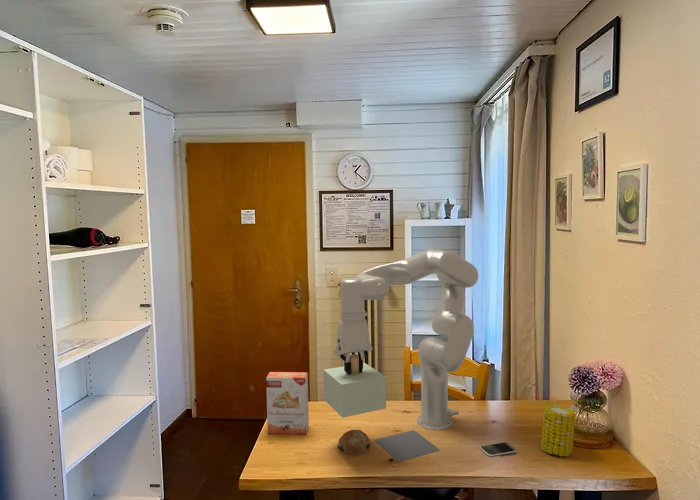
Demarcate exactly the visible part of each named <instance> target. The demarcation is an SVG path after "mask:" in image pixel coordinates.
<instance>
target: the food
mask: <svg viewBox="0 0 700 500" xmlns="http://www.w3.org/2000/svg"><path fill="white" fill-rule="evenodd" d="M541 421H542V423H541V435H540V436H541V437H540V443H541V444H540V447H541V451H543V452H545V453H546V454H547V453H548V454H549V455H556V456H560V457H566V458H567V457H569V456H571V454H572V453H573V449H574V448H573V447H574V437H575V424H576V412H575V410H574V409H572V408H571V407H567V406H566V405H562V404H561V403H559V404H558V403H553V404H548V405H545V406H544V407H543V416H542V419H541Z"/></svg>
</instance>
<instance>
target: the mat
mask: <svg viewBox="0 0 700 500" xmlns="http://www.w3.org/2000/svg"><path fill="white" fill-rule="evenodd" d="M374 441H375V442H376V444H378V445H379V446H380V447H381V448H382V449H383V450H384V451H385V452H386V453H387V454H388V455H390V457H391V458H393V459H394V461H396V462H397V463H400V462H404V461H408V460H411V459H414V458H418V457H419V458H420V457H422V456H425V455H430V454H433V453H437V452H440V451H441V449H440V448H438V447H436V446H435V445H434V444H433V443H432V442H430V441H429V440H428V439H427V438H425V437H424V436H423V435H422V434H420V433H419V432H417V431H416V430H415V429H412V430H408V431H405V432H400V433H399V432H398V433H396V434H393V435H387V436H384V437H380V438H376V439H374Z"/></svg>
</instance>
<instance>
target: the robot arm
mask: <svg viewBox="0 0 700 500" xmlns="http://www.w3.org/2000/svg"><path fill="white" fill-rule="evenodd" d="M433 274H435V275H436V277H437V279H438V281H439V283H440V287H441V299H440V301H439V304H438V306H437V309H436V312H435V314H434V318H433V320H432V322H431V323H432V324H431V328H432V331H433V332H434V333H435V334H437V335H439V336H441V337H444V338H447V341H446V340H444V339H442V338H441V339H440V338H437V337H432V336H429V337H428V336H427V337H426V338H424V339H422V340H421V341H420V343H419V346H418V351H417V352H418V359H419V364H420V378H421V380H420V383H421V384H420V388H421V389H420V390H421V394H420V395H421V398H420V399H421V403H420V404H421V405H420V406H421V409H420V411H421V414H420V415H418V417H417V418H416V423H417V425H419V427H421V428H423V429H426V430H430V431H444V430H447V429H450V427H452V424H453V421H452V417H453V416H458V415H459V414H460V413H459V412H460V411H459V410H458V409H456V408H455V409H452V408H451V407H449V406H448V405H449V404H448V403H449V401H448V400H449V399H448V398H449V394H448V393H449V391H448V390H449V389H448V387H449V385H448V384H449V380H448V379H449V377H448V376H449V375H448V372H453V373H454V372H456V371H458V370H459V369H460V368H461V367H462V365H463V363H464V361H465V359H466V356H467V354H468V351H469V347H470V346H471V342H472V340H473V335H474V332H475V325H474V321H473V320H472V319H471V317H469V316H468V315H466V314H463V309H464V307H465V302H466V297H465V296H466V295H465V292H464V289H463V288H465V289H466V288H471V287H474V286H475V284H477V282H478V280H479V272H478V269H477V268H476V266H475V265H474V264H472V263H471V262H469V261H468V260H465V259H464V258H462V257H461V256H459V255H457V254H456V253H453V252H451V251H449V250H443V249H432V248H431V249H426V250H423V251H420V252H418V253H416V254H413V255H411V256H409V257H407V258H404V259H402V260H398V261H394V262H391V263H387V264H383V265H379V266H375V267H372V268H369V269H367V270H365V271H362V272H360V273H358V274H356V276H355V277H347V278H343V279H342V280H341V281H340V320H339V321H338V323H337V329H336V338H335V339H336V341H335V343H336V344H335V345H336V347H335V349H334V351H333V355H334V356H336V357H338V358H340V359H341V360H342V361H343V366H344V371H345V372H346V373H347V374H349V375H350V374H351V363H350V362H349V358H350V355H351V354H352V353H357V354H356V355H358V356H359V372H360V373H362V369H363V363H364V360H365V358H366V357H367V355H368V354H369V353H370V352H372V350H373V346H372V344H371V342H370V334H369V326H368V322H367V319H366V317H367V316H368V315H369V312H368V311H365V301H379V300H382V299H384V298H385V297H387V295H388V294H389V291H390V286H402V285H404V286H406V285H410V284H413V283H415V282H417V281H419V280H421V279H424V278H426V277H428V276H430V275H433Z"/></svg>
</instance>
